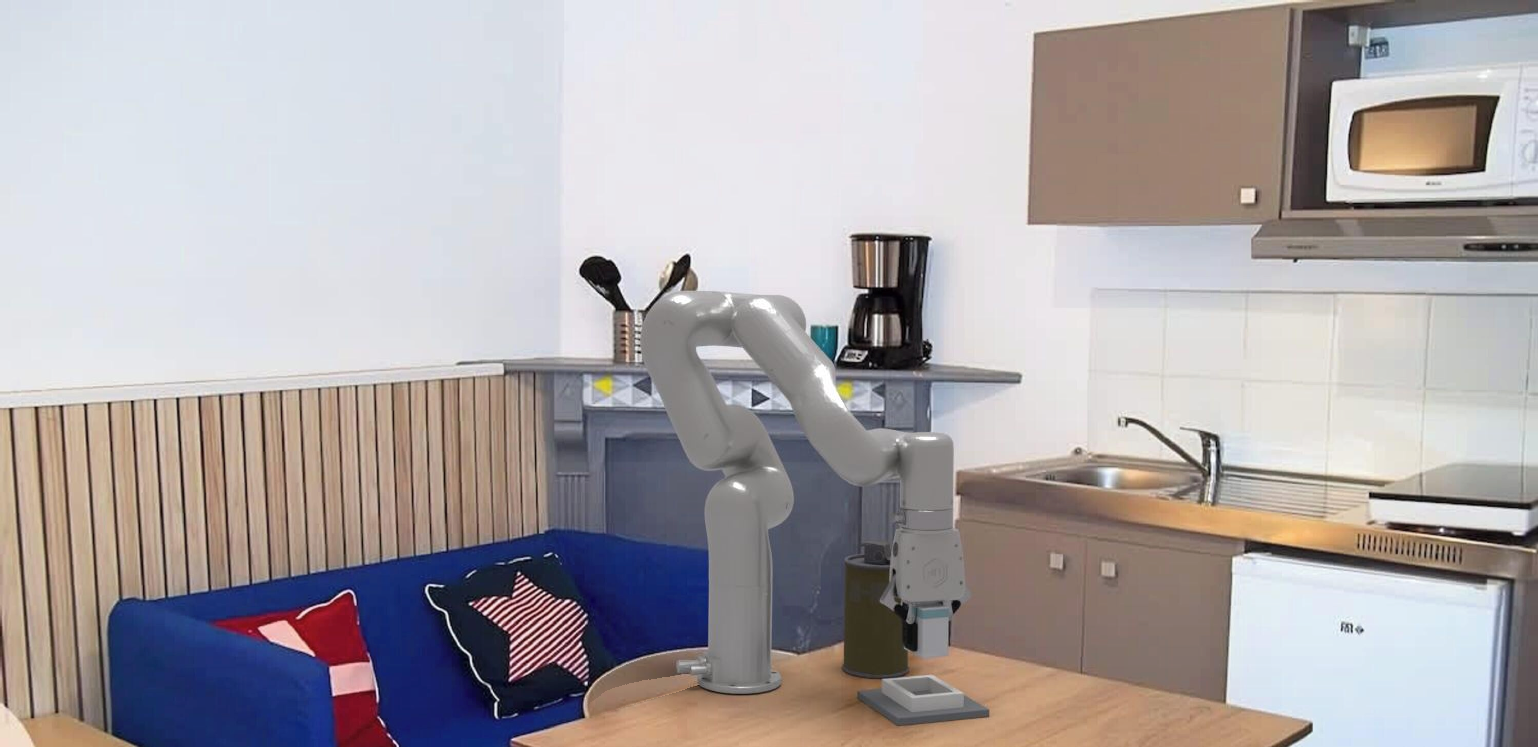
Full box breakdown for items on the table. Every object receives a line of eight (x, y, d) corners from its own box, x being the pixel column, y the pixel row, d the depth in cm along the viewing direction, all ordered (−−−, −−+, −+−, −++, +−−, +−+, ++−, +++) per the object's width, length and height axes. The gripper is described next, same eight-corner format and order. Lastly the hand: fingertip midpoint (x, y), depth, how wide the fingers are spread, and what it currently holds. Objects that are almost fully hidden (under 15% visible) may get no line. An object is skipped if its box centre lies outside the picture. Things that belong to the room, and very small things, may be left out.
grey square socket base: (898, 725, 193) (898, 703, 193) (857, 697, 207) (857, 676, 206) (989, 716, 198) (989, 695, 198) (943, 689, 211) (943, 669, 211)
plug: (922, 658, 198) (922, 608, 198) (903, 648, 204) (903, 600, 203) (948, 656, 200) (949, 606, 199) (929, 646, 205) (929, 598, 205)
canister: (832, 673, 219) (834, 545, 218) (854, 657, 229) (857, 534, 228) (900, 682, 215) (902, 551, 214) (919, 665, 225) (922, 540, 223)
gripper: (883, 527, 194) (882, 659, 195) (991, 520, 200) (990, 649, 201) (861, 519, 201) (861, 646, 202) (966, 513, 207) (965, 637, 208)
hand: (925, 646), depth 202 cm, fingers closed on plug, 4 cm apart
